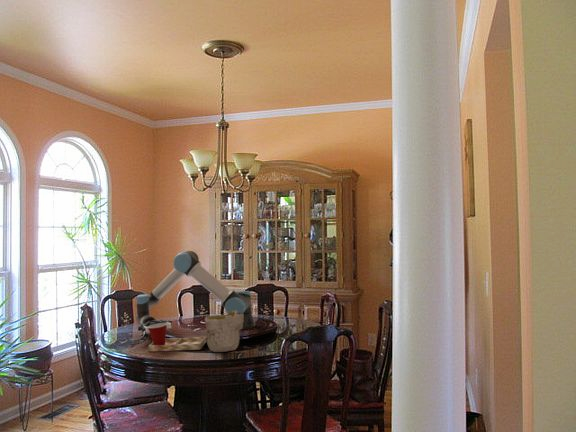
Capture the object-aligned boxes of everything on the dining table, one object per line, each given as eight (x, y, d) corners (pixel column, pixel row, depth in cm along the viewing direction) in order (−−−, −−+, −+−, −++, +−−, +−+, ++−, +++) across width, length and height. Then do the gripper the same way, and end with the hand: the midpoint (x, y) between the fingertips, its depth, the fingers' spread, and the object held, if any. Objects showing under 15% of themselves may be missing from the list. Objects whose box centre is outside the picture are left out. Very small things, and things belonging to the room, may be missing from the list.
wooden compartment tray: (206, 342, 283) (206, 336, 283) (200, 349, 268) (199, 344, 268) (157, 344, 285) (156, 338, 285) (148, 351, 270) (148, 346, 270)
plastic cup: (172, 341, 281) (169, 320, 280) (166, 347, 270) (162, 326, 270) (154, 342, 282) (151, 322, 282) (147, 349, 272) (144, 328, 271)
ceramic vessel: (185, 333, 271) (211, 295, 277) (220, 355, 278) (244, 317, 285) (195, 342, 250) (222, 300, 257) (232, 365, 258) (258, 323, 264)
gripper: (168, 324, 309) (180, 330, 292) (128, 332, 296) (138, 338, 278) (167, 313, 309) (179, 318, 291) (127, 319, 296) (137, 325, 278)
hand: (159, 328), depth 285 cm, fingers open, 13 cm apart
